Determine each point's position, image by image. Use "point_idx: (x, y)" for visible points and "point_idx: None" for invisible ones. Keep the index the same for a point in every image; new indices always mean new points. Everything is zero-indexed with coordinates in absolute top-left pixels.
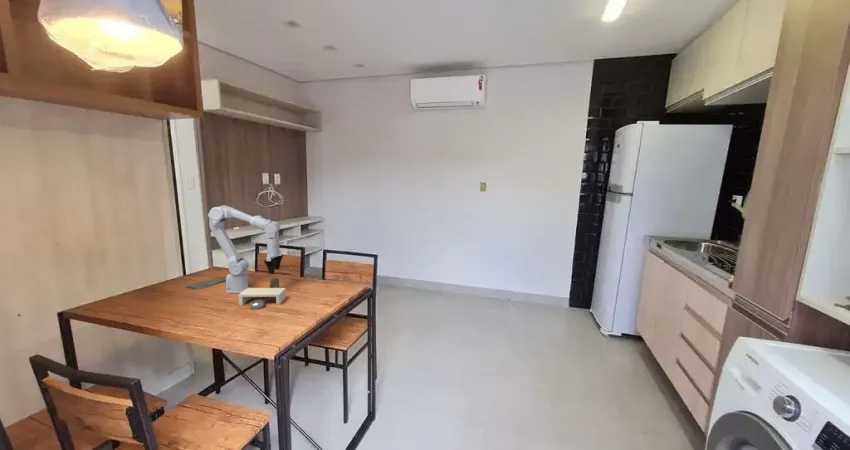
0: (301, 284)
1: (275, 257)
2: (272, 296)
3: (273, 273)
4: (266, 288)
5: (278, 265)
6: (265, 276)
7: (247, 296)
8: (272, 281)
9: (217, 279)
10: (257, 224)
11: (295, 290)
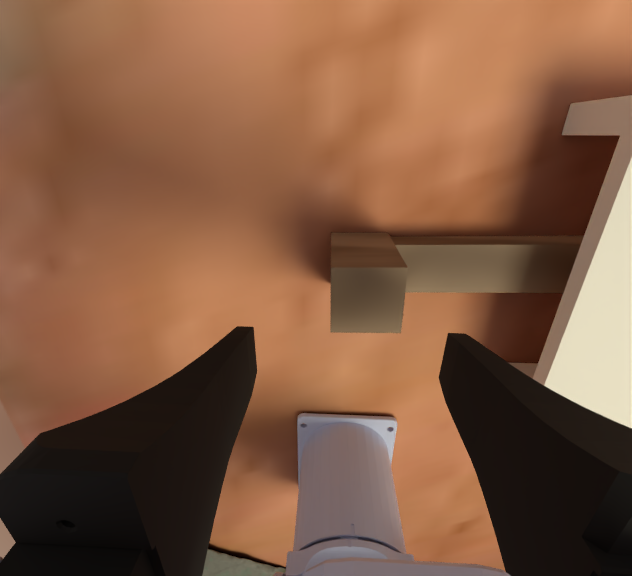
0: (182, 59)
1: (183, 550)
2: None
3: (469, 336)
4: (593, 296)
5: (234, 366)
6: (60, 405)
7: None
8: (400, 304)
9: (208, 573)
10: None
11: (367, 69)
